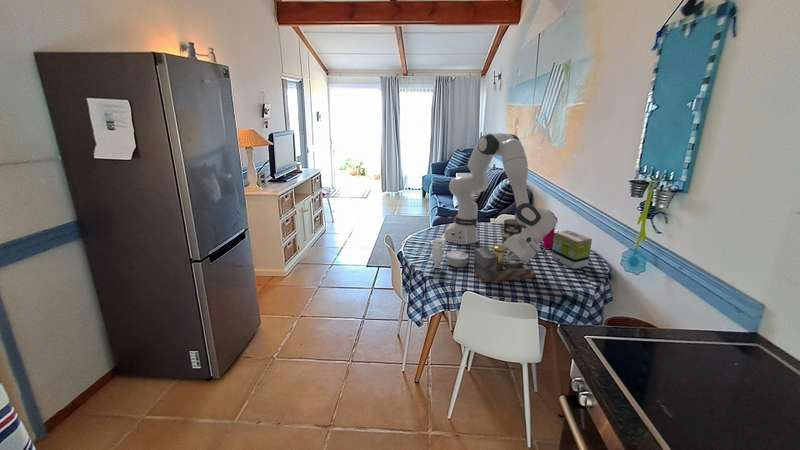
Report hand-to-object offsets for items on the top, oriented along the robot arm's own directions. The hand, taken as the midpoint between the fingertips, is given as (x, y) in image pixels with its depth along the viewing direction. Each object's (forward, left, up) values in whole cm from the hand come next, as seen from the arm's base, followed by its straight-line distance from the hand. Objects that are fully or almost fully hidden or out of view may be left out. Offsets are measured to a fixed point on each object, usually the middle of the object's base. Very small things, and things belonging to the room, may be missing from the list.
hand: (506, 260), depth 174 cm
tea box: (+29, +27, -8) cm, 40 cm away
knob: (-3, -2, -5) cm, 6 cm away
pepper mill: (+19, +47, -8) cm, 51 cm away
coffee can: (-1, +43, -8) cm, 44 cm away
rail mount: (0, 0, -7) cm, 7 cm away
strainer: (-32, -3, -8) cm, 33 cm away
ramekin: (-24, +5, -8) cm, 26 cm away
